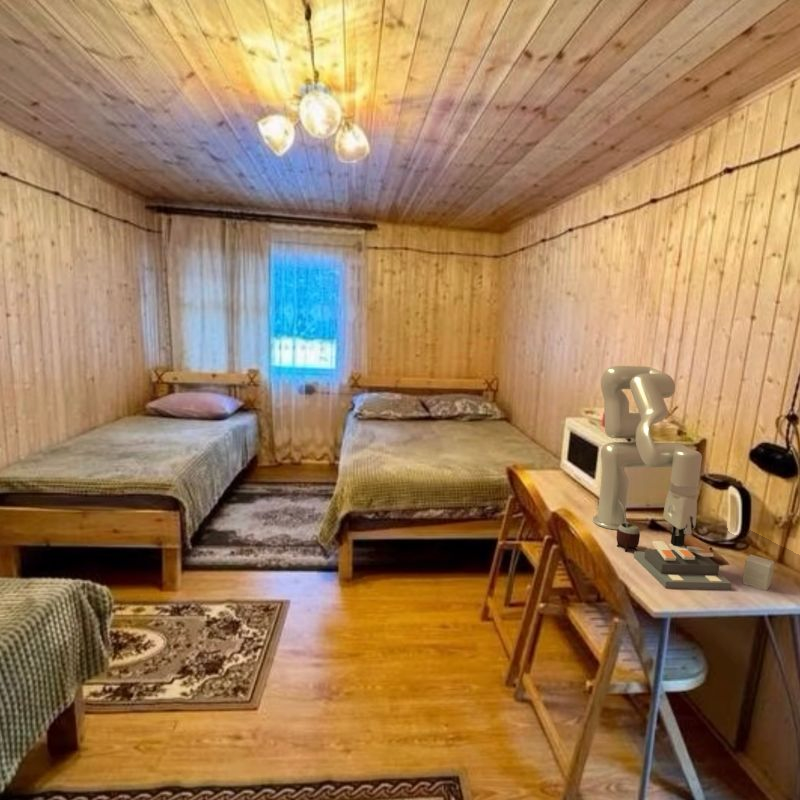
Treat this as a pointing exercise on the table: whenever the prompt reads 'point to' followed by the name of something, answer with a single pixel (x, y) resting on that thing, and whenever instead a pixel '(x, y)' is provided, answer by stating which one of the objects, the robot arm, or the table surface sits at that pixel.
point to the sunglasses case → (695, 542)
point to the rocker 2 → (700, 552)
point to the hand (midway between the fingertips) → (676, 546)
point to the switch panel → (686, 578)
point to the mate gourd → (627, 534)
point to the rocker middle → (683, 552)
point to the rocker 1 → (664, 550)
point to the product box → (758, 572)
